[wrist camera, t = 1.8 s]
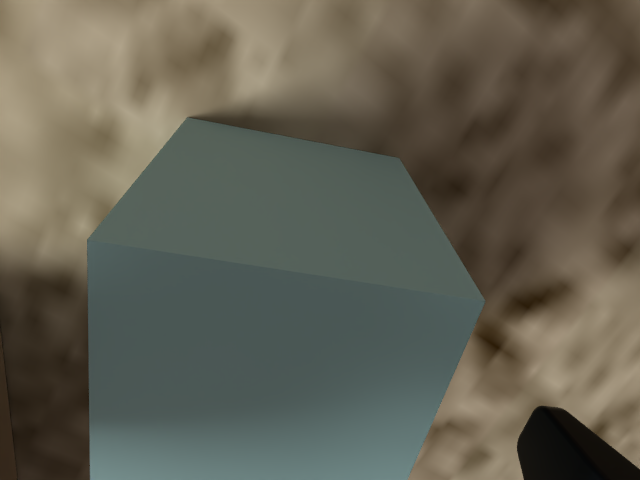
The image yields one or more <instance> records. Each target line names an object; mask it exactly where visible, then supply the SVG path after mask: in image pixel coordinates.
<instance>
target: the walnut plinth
mask: <svg viewBox="0 0 640 480" xmlns="http://www.w3.org/2000/svg"><path fill="white" fill-rule="evenodd" d="M0 480H17V471H16V462H15V453H14V444H13V435H12V427H11V418H10V409H9V400H8V391H7V383H6V374H5V365H4V356H3V347H2V338H1V330H0Z"/></svg>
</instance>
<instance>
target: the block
mask: <svg viewBox="0 0 640 480" xmlns="http://www.w3.org/2000/svg"><path fill="white" fill-rule="evenodd" d="M87 262H88V347H89V432H90V480H407V479H408V477H409V475H410V472H411V470H412V468H413V465H414V463H415V461H416V459H417V456H418V454H419V452H420V449H421V447H422V445H423V443H424V440H425V438H426V436H427V433H428V431H429V429H430V427H431V424H432V422H433V420H434V417H435V415H436V413H437V411H438V408H439V406H440V404H441V402H442V399H443V397H444V395H445V392H446V390H447V388H448V386H449V383H450V381H451V379H452V376H453V374H454V372H455V370H456V367H457V365H458V363H459V360H460V358H461V356H462V354H463V351H464V349H465V347H466V345H467V342H468V340H469V338H470V335H471V333H472V331H473V329H474V326H475V324H476V322H477V319H478V317H479V315H480V313H481V310H482V308H483V306H484V303H485V300H484V298H483V296H482V295H481V293H480V291H479V290H478V288H477V286H476V285H475V283H474V281H473V280H472V278H471V276H470V275H469V273H468V271H467V270H466V268H465V266H464V265H463V263H462V261H461V260H460V258H459V256H458V255H457V253H456V251H455V250H454V248H453V246H452V245H451V243H450V242H449V240H448V238H447V237H446V235H445V233H444V232H443V230H442V228H441V227H440V225H439V223H438V222H437V220H436V218H435V217H434V215H433V213H432V212H431V210H430V208H429V207H428V205H427V203H426V202H425V200H424V198H423V197H422V195H421V193H420V192H419V190H418V188H417V187H416V185H415V183H414V182H413V180H412V178H411V177H410V175H409V174H408V172H407V170H406V169H405V167H404V165H403V164H402V162H401V160H400V159H399V158H397V157H392V156H386V155H381V154H376V153H371V152H365V151H360V150H355V149H350V148H345V147H339V146H334V145H329V144H324V143H318V142H313V141H308V140H303V139H298V138H292V137H287V136H282V135H277V134H272V133H266V132H261V131H256V130H251V129H245V128H240V127H235V126H230V125H225V124H219V123H214V122H209V121H204V120H198V119H193V118H188V117H187V118H186V120H185V121H184V122H183V123H182V125H181V126H180V127H179V128H178V129H177V131H176V132H175V133H174V134H173V136H172V137H171V138H170V139H169V140H168V142H167V143H166V144H165V145H164V147H163V148H162V149H161V150H160V151H159V153H158V154H157V155H156V156H155V158H154V159H153V160H152V161H151V162H150V164H149V165H148V166H147V167H146V169H145V170H144V171H143V172H142V173H141V175H140V176H139V177H138V178H137V180H136V181H135V182H134V183H133V184H132V186H131V187H130V188H129V189H128V191H127V192H126V193H125V194H124V195H123V197H122V198H121V199H120V200H119V202H118V203H117V204H116V205H115V206H114V208H113V209H112V210H111V211H110V213H109V214H108V215H107V216H106V218H105V219H104V220H103V221H102V222H101V224H100V225H99V226H98V227H97V229H96V230H95V231H94V232H93V233H92V235H91V236H90V237H89V238H88V240H87Z"/></svg>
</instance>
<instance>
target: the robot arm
mask: <svg viewBox="0 0 640 480" xmlns="http://www.w3.org/2000/svg"><path fill="white" fill-rule="evenodd" d="M517 452H518V457H519V461H520V465H521V469H522V473H523V477H524V480H640V469H639V468H637V467H636V466H635V465H634V464H632V463H631V462H630V461H629V460H627V459H626V458H625V457H624V456H622V455H621V454H620V453H619V452H617V451H616V450H615V449H614V448H612V447H611V446H610V445H609V444H607V443H606V442H605V441H604V440H602V439H601V438H600V437H599V436H597V435H596V434H595V433H593V432H592V431H591V430H590V429H588V428H587V427H586V426H585V425H583V424H582V423H581V422H580V421H578V420H577V419H576V418H575V417H573V416H572V415H571V414H570V413H568V412H567V411H566V410H564V409H562V408H558V407H550V406H539V407H537V408H536V409H535V410H534V411H533V413H532V414H531V416H530V418H529V420H528V422H527V423H526V425H525V427H524V429H523V431H522V432H521V434H520V436H519V438H518V442H517Z"/></svg>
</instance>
